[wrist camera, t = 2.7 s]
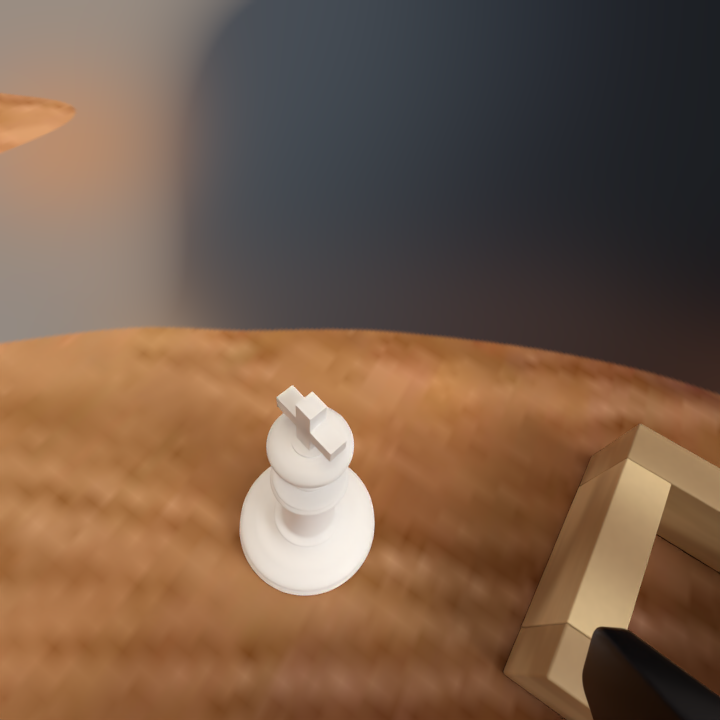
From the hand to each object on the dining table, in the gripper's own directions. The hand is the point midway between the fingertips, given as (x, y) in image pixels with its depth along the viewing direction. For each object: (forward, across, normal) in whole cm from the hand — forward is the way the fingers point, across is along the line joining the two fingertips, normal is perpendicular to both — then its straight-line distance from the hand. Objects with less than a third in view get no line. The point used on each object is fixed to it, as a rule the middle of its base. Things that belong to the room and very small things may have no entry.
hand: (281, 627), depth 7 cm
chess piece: (+10, 0, +5) cm, 12 cm away
